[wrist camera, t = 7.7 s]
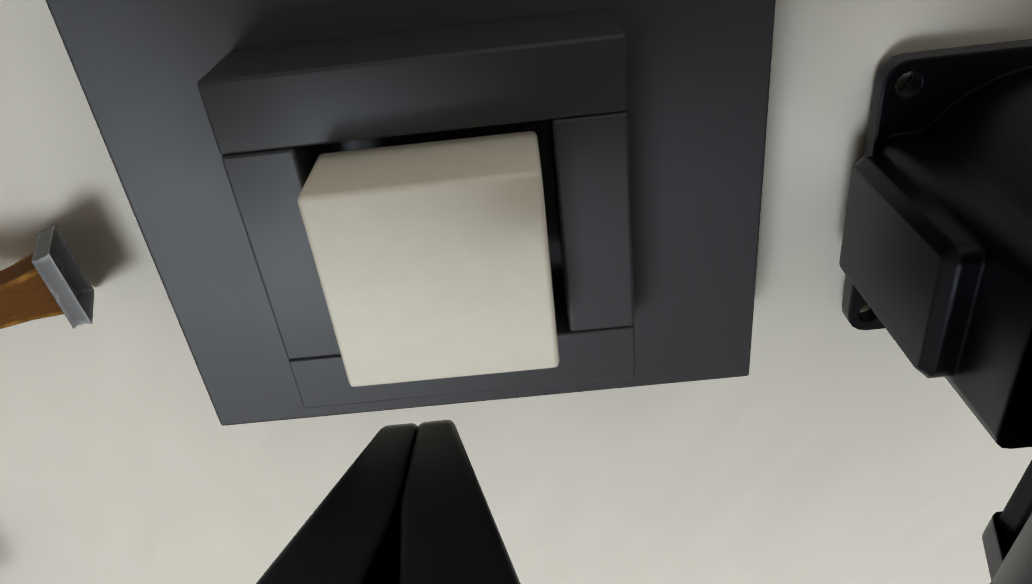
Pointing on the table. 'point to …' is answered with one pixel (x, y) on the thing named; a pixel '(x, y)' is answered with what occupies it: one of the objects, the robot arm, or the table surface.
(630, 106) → the key block
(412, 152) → the key
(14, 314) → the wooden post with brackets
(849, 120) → the table surface
